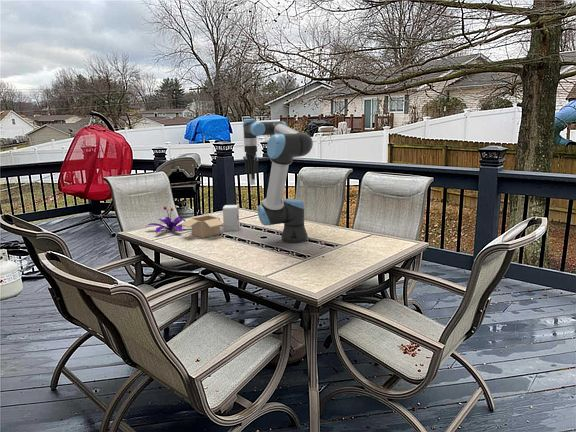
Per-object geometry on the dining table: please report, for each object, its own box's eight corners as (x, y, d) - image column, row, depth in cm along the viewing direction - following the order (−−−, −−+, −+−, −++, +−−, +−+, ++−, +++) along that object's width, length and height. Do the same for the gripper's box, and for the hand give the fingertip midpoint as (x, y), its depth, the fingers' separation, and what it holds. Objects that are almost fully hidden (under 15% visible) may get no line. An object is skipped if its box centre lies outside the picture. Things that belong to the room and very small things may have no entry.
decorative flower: (184, 222, 288) (182, 201, 284) (201, 232, 262) (200, 208, 259) (142, 228, 273) (140, 206, 270) (156, 239, 247) (154, 214, 244)
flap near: (217, 218, 252) (223, 224, 248) (204, 221, 247) (210, 227, 242) (217, 218, 252) (223, 223, 248) (204, 220, 246) (210, 226, 242)
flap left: (198, 220, 247) (188, 226, 243) (198, 221, 247) (189, 227, 243) (191, 218, 253) (181, 224, 250) (191, 219, 254) (181, 224, 250)
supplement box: (237, 231, 263) (236, 207, 260) (223, 231, 263) (222, 207, 260) (239, 227, 272) (238, 204, 268) (226, 227, 272) (224, 204, 269)
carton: (226, 233, 259) (225, 217, 256) (202, 238, 248) (201, 222, 246) (211, 228, 271) (210, 212, 269) (188, 233, 260) (187, 217, 258)
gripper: (262, 145, 249) (264, 184, 255) (248, 144, 259) (250, 182, 264) (252, 146, 244) (254, 186, 250) (238, 145, 254) (240, 184, 259)
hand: (252, 184), depth 257 cm, fingers closed
